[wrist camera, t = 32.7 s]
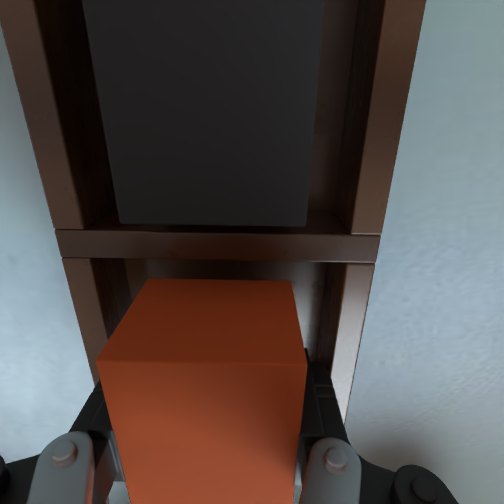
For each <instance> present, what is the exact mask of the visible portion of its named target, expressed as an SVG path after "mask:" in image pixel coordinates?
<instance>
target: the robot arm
mask: <svg viewBox="0 0 504 504" xmlns="http://www.w3.org/2000/svg"><path fill="white" fill-rule="evenodd" d="M304 349H305V354H306V360H307V365H308V366H307V375H306V384H305V393H304V402H303V412H302V421H301V430H300V434H299V438H298V447H297V457H296V466H295V476H294V487H302V492H301V496H300V500H299V504H458V502H457V501H456V499H455V498H454V497H453V495H452V494H451V492H450V491H449V490H448V488H447V487H446V485H445V484H444V483H443V482H442V481H441V480H440V479H439V478H438V477H437V476H436V475H435V474H434V473H432V472H430V471H429V470H427V469H425V468H423V467H420V466H416V465H405V466H402V467H401V468H399V469H398V470H397V471H396V472H393V471H390V470H387V469H384V468H381V467H379V466H376V465H373V464H371V463H369V462H367V461H366V460H364V459H363V458H362V457H360V456H359V455H358V454H357V453H356V452H355V450H354V449H353V448H352V446H351V445H350V443H349V441H348V438H347V434H346V431H345V427H344V423H343V419H342V416H341V412H340V408H339V405H338V401H337V398H336V394H335V390H334V388H333V383H332V379H331V375H330V372H329V371H328V370H327V369H326V367H325V366H324V365H323V364H322V362H310V359H309V354H308V350H307V348H306V347H304ZM114 481H124V482H125V481H126V479H125V475H124V471H123V467H122V463H121V459H120V455H119V451H118V447H117V442H116V438H115V434H114V430H113V429H112V425H111V421H110V417H109V413H108V409H107V405H106V401H105V397H104V393H103V389H102V385H101V381H100V379H99V382H98V383H97V384H96V386H95V388H94V389H93V392H92V393H91V395H90V396H89V398H88V400H87V401H86V403H85V405H84V406H83V408H82V410H81V412H80V413H79V415H78V417H77V418H76V420H75V422H74V424H73V425H72V427H71V429H70V430H69V432H68V433H66V434H64V435H61V436H59V437H58V438H56V439H55V440H53V441H52V442H51V443H50V444H48V445H47V446H46V447H45V449H44V450H43V451H42V453H41V454H39V455H36V456H33V457H29V458H25V459H22V460H18V461H15V462H11V463H7V464H6V463H5V461H4V459H3V457H2V456H0V504H109V497H108V495H109V492H110V490H111V487H112V485H113V482H114Z"/></svg>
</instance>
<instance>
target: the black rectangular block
mask: <svg viewBox="0 0 504 504" xmlns="http://www.w3.org/2000/svg"><path fill="white" fill-rule="evenodd" d="M82 3H83V9H84V15H85V20H86V26H87V32H88V38H89V44H90V50H91V56H92V62H93V67H94V73H95V79H96V85H97V91H98V97H99V103H100V109H101V115H102V120H103V126H104V132H105V138H106V144H107V150H108V156H109V162H110V167H111V173H112V179H113V185H114V191H115V197H116V203H117V209H118V214H119V220H120V223H122V224H162V225H227V226H292V227H303V226H305V225H306V220H307V208H308V196H309V185H310V173H311V161H312V149H313V137H314V125H315V114H316V102H317V90H318V78H319V66H320V54H321V43H322V31H323V19H324V7H325V0H82Z"/></svg>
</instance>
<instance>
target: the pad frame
mask: <svg viewBox="0 0 504 504" xmlns="http://www.w3.org/2000/svg"><path fill="white" fill-rule="evenodd" d="M425 4H426V0H325V7H324V19H323V31H322V43H321V54H320V66H319V78H318V90H317V102H316V114H315V125H314V137H313V149H312V161H311V173H310V185H309V196H308V208H307V220H306V225H305V226H303V227H292V226H227V225H162V224H122V223H120V220H119V214H118V209H117V203H116V197H115V191H114V185H113V179H112V173H111V167H110V162H109V156H108V150H107V144H106V138H105V132H104V126H103V120H102V115H101V109H100V103H99V97H98V91H97V85H96V79H95V73H94V67H93V62H92V56H91V50H90V44H89V38H88V32H87V26H86V20H85V15H84V9H83V3H82V0H0V23H1V27H2V31H3V34H4V38H5V42H6V46H7V50H8V54H9V57H10V61H11V65H12V69H13V73H14V77H15V81H16V84H17V88H18V92H19V96H20V100H21V104H22V107H23V111H24V115H25V119H26V123H27V127H28V130H29V134H30V138H31V142H32V146H33V150H34V153H35V157H36V161H37V165H38V169H39V173H40V177H41V180H42V184H43V188H44V192H45V196H46V200H47V203H48V207H49V211H50V215H51V219H52V223H53V226H54V228H55V229H56V230H55V235H56V239H57V242H58V246H59V250H60V254H61V257H63V258H62V262H63V266H64V270H65V274H66V278H67V281H68V285H69V289H70V293H71V297H72V301H73V304H74V308H75V312H76V316H77V320H78V324H79V327H80V331H81V335H82V339H83V343H84V347H85V350H86V354H87V358H88V362H89V366H90V370H91V373H92V377H93V381H94V385H95V386H96V384H97V383H98V382H99V379H100V377H99V373H98V369H97V365H96V359H97V357H98V356H99V354H100V353H101V351H102V349H103V348H104V346H105V345H106V343H107V342H108V340H109V339H110V337H111V336H112V334H113V332H114V331H115V329H116V328H117V326H118V325H119V323H120V322H121V320H122V319H123V317H124V315H125V314H126V312H127V311H128V309H129V308H130V306H131V305H132V303H133V302H134V300H135V298H136V297H137V295H138V294H139V292H140V291H141V289H142V288H143V286H144V285H145V283H146V281H147V280H148V279H149V278H160V279H214V280H269V281H291V282H292V287H293V292H294V297H295V302H296V308H297V313H298V318H299V323H300V328H301V334H302V339H303V344H304V347H306V348H307V350H308V354H309V359H310V362H322V364H323V365H324V366H325V367H326V369H327V370H328V371H329V372H330V375H331V379H332V383H333V388H334V390H335V394H336V398H337V401H338V405H339V408H340V412H341V416H342V419H343V423H344V425H345V420H346V415H347V409H348V404H349V399H350V394H351V388H352V383H353V378H354V373H355V368H356V362H357V357H358V352H359V347H360V341H361V336H362V331H363V326H364V320H365V315H366V310H367V305H368V300H369V294H370V289H371V284H372V279H373V273H374V268H375V262H376V259H377V254H378V248H379V243H380V238H381V236H380V235H381V233H382V228H383V223H384V218H385V213H386V207H387V202H388V197H389V192H390V186H391V181H392V176H393V171H394V166H395V160H396V155H397V150H398V145H399V140H400V134H401V129H402V124H403V119H404V113H405V108H406V103H407V98H408V93H409V87H410V82H411V77H412V72H413V67H414V61H415V56H416V51H417V46H418V40H419V35H420V30H421V25H422V20H423V14H424V9H425Z"/></svg>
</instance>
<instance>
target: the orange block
mask: <svg viewBox="0 0 504 504" xmlns="http://www.w3.org/2000/svg"><path fill="white" fill-rule="evenodd" d="M96 365H97V369H98V373H99V377H100V381H101V385H102V389H103V393H104V397H105V401H106V405H107V409H108V413H109V417H110V421H111V425H112V429H113V430H114V434H115V438H116V442H117V447H118V451H119V455H120V459H121V463H122V467H123V471H124V475H125V479H126V486H127V490H128V494H129V498H130V502H131V504H293V495H294V476H295V466H296V457H297V447H298V438H299V434H300V430H301V421H302V412H303V402H304V393H305V384H306V375H307V366H308V365H307V360H306V354H305V349H304V344H303V339H302V334H301V328H300V323H299V318H298V313H297V308H296V302H295V297H294V292H293V287H292V282H291V281H269V280H214V279H160V278H149V279H148V280H147V281H146V283H145V285H144V286H143V288H142V289H141V291H140V292H139V294H138V295H137V297H136V298H135V300H134V302H133V303H132V305H131V306H130V308H129V309H128V311H127V312H126V314H125V315H124V317H123V319H122V320H121V322H120V323H119V325H118V326H117V328H116V329H115V331H114V332H113V334H112V336H111V337H110V339H109V340H108V342H107V343H106V345H105V346H104V348H103V349H102V351H101V353H100V354H99V356H98V357H97V359H96Z"/></svg>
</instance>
